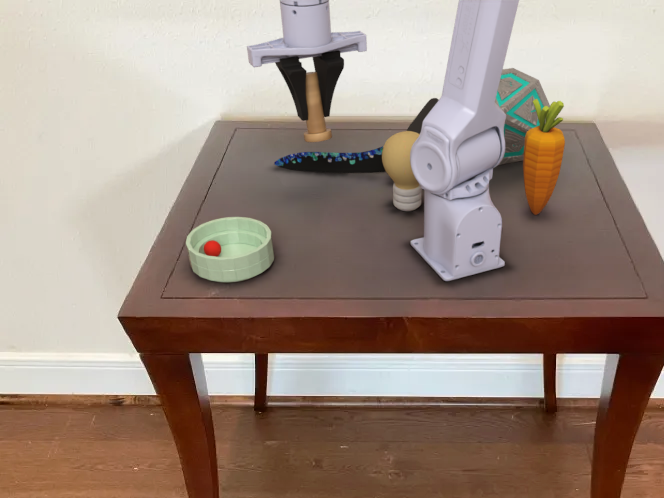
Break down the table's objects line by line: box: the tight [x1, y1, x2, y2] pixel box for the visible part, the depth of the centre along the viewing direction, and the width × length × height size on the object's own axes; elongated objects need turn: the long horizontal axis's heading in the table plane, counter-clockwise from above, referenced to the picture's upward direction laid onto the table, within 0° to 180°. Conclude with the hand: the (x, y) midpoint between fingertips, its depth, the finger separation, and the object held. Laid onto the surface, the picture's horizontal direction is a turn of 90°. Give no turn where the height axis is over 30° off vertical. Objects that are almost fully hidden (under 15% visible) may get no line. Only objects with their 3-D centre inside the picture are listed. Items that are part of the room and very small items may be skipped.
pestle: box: [303, 71, 333, 143], centre depth 93 cm, size 4×4×8 cm
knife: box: [273, 145, 387, 174], centre depth 102 cm, size 31×3×4 cm, turn 75°
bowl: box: [185, 216, 275, 283], centre depth 85 cm, size 10×10×4 cm
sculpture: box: [495, 67, 551, 166], centre depth 105 cm, size 13×14×30 cm
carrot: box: [522, 99, 566, 216], centre depth 90 cm, size 5×5×15 cm
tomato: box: [204, 240, 221, 257], centre depth 86 cm, size 2×2×2 cm
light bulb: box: [382, 130, 423, 212], centre depth 93 cm, size 6×6×10 cm
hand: (313, 116), depth 94 cm, fingers closed on pestle, 2 cm apart
